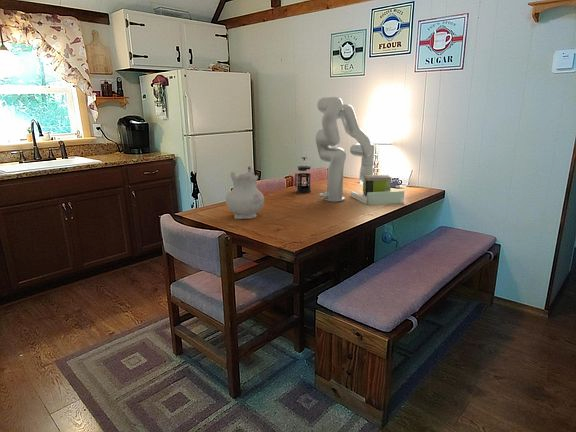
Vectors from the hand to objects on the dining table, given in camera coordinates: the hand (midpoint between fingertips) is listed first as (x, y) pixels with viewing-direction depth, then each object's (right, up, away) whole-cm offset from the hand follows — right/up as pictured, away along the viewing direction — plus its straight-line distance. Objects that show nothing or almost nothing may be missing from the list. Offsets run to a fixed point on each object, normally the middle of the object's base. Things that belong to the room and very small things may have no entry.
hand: (365, 191), depth 248 cm
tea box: (+4, -6, -14) cm, 16 cm away
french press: (-40, 0, +7) cm, 41 cm away
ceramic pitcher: (-72, -16, -49) cm, 89 cm away
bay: (+4, -6, -13) cm, 15 cm away
